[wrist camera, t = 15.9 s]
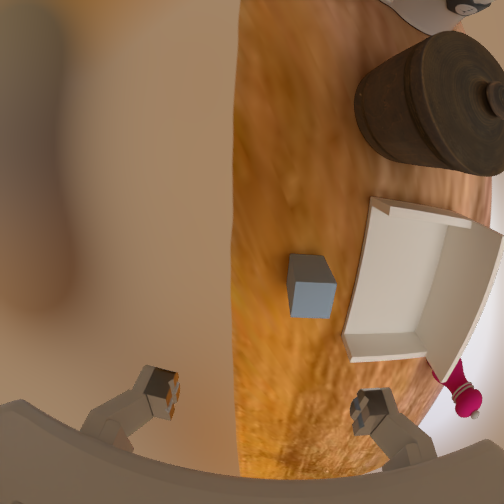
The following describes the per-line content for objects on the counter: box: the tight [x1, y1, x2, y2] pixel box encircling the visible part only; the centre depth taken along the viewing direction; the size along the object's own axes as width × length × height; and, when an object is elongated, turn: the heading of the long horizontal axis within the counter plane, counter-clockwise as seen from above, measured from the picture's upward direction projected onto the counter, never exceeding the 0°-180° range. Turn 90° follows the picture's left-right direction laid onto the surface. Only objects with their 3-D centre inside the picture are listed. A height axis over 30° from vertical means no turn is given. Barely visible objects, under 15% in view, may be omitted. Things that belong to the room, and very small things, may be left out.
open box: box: [341, 197, 504, 383], centre depth 33 cm, size 24×16×14 cm, turn 177°
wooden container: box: [354, 31, 504, 177], centre depth 21 cm, size 15×15×22 cm
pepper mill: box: [428, 358, 482, 419], centre depth 37 cm, size 7×7×20 cm
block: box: [287, 254, 337, 318], centre depth 36 cm, size 5×5×9 cm
